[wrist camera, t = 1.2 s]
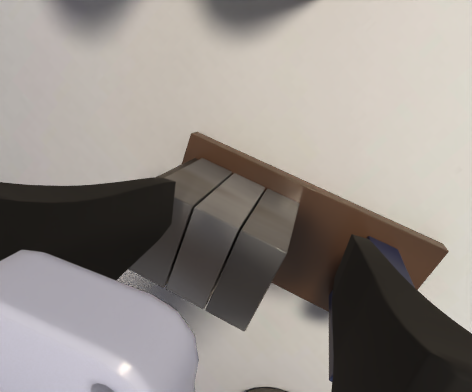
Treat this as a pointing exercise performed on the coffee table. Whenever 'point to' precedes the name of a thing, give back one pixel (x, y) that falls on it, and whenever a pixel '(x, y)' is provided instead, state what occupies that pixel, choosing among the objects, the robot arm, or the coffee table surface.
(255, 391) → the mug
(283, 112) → the coffee table surface
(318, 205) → the walnut book board
